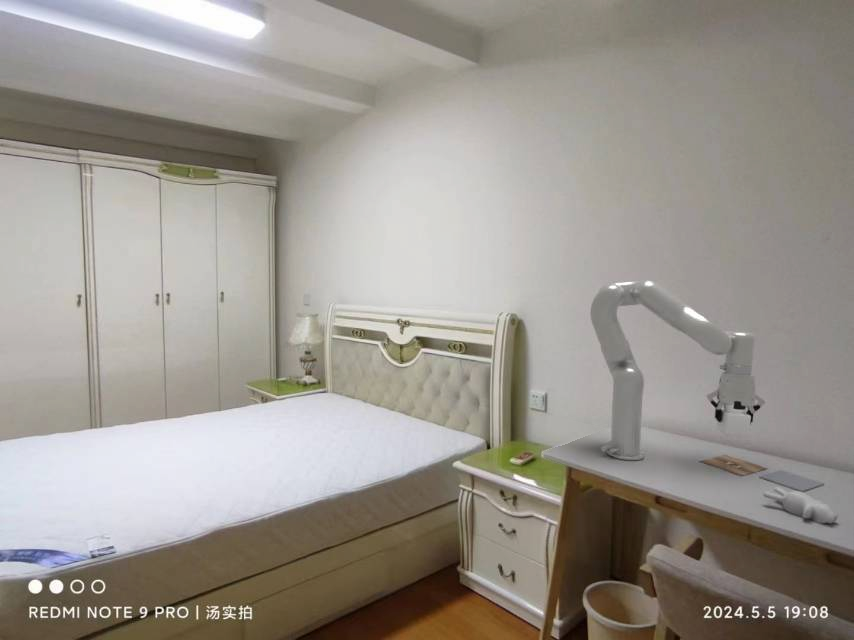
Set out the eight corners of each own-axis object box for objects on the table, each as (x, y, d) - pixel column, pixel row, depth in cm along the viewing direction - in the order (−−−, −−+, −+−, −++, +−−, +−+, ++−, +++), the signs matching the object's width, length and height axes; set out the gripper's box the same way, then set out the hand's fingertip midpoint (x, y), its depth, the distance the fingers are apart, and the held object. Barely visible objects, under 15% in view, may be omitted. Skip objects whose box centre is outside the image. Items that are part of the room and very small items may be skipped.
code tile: (741, 476, 157) (741, 475, 157) (699, 461, 169) (699, 461, 169) (767, 468, 163) (767, 468, 163) (725, 455, 176) (725, 454, 176)
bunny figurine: (827, 514, 123) (762, 485, 136) (823, 533, 124) (758, 503, 136) (844, 506, 128) (779, 479, 140) (840, 524, 129) (776, 495, 141)
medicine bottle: (738, 430, 169) (741, 395, 168) (749, 437, 162) (752, 400, 161) (715, 429, 169) (718, 394, 168) (725, 435, 162) (729, 399, 161)
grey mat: (802, 492, 145) (802, 490, 145) (759, 477, 156) (759, 476, 156) (824, 484, 151) (824, 483, 151) (780, 471, 161) (781, 469, 161)
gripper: (710, 369, 163) (706, 422, 164) (773, 374, 157) (767, 429, 159) (705, 365, 170) (701, 416, 171) (764, 370, 165) (759, 422, 166)
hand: (733, 422), depth 165 cm, fingers closed on medicine bottle, 8 cm apart
